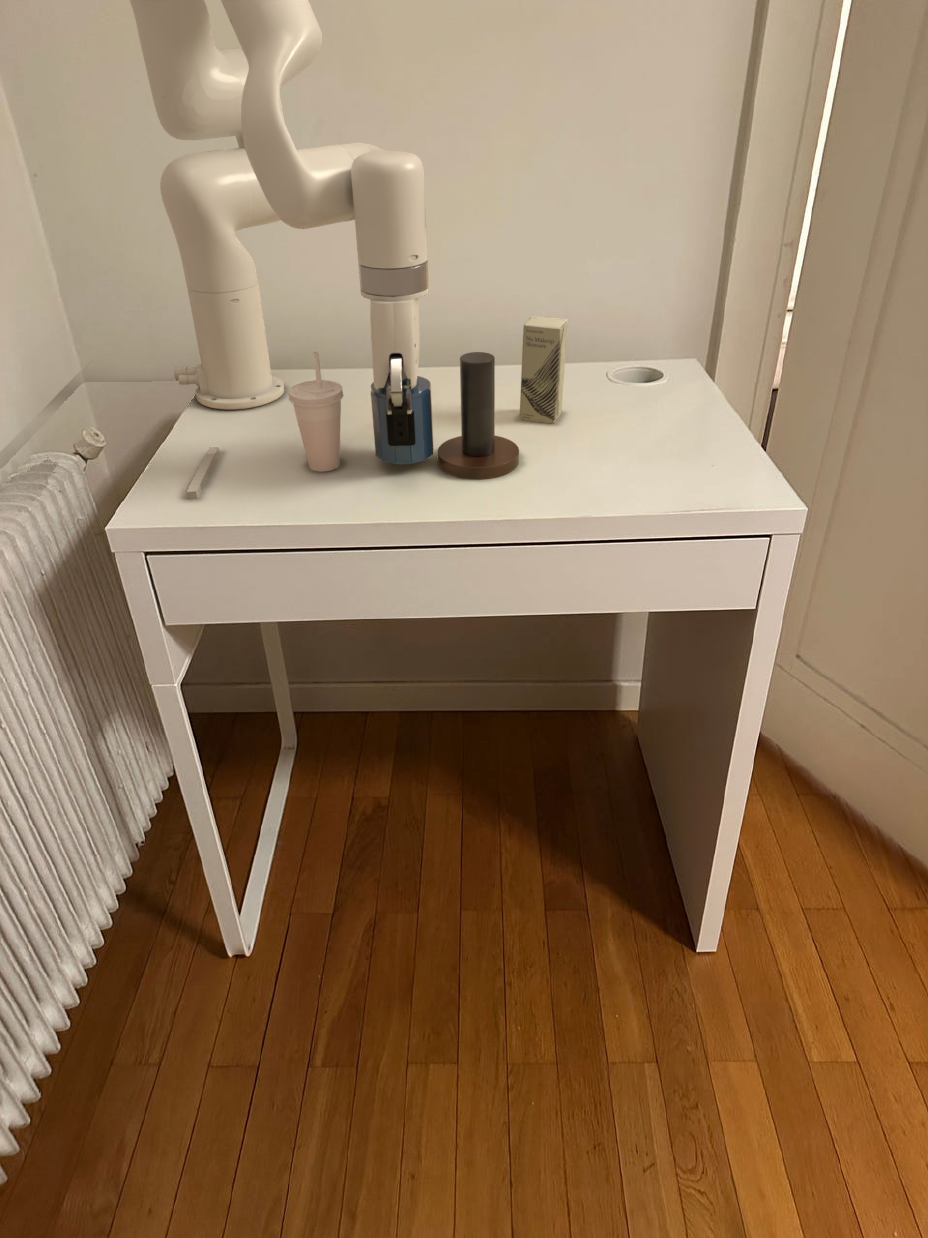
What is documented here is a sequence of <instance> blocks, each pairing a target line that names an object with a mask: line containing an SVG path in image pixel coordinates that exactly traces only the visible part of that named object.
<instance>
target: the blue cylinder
mask: <svg viewBox="0 0 928 1238" xmlns="http://www.w3.org/2000/svg"><path fill="white" fill-rule="evenodd" d="M402 385H407V381H402ZM390 386H391V381H390ZM403 396H405V397H406V392H403ZM370 401H371V412H372V424H373V437H374V451H375V457H376V458H377V459H379V460H380V461H381V462H384V463H388V464H393V465H413V464H416V463H421V462H424V461H426V460H428V459H429V458H430V457H432V456H433V455H434V451H435V450H434V449H435V448H434V424H433V403H432V384H431V382H430V380H429V379H428V378H426V377H424V376H420V375H417V384H416V386H415V387H414V388H413V389H411V405H412V411H414V419H415V438H416V443H415V445H413V446H390V445H389V444H388V435H387V421H386V412H387V390H386V383H385V386H384V388H380V390H377V389H376V388H375V387H374V381H373V382H372V383H371V384H370ZM406 405H407V404H406Z"/></svg>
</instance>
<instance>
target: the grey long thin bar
mask: <svg viewBox="0 0 928 1238" xmlns="http://www.w3.org/2000/svg"><path fill="white" fill-rule="evenodd" d="M219 457H220V449H219V446H209V447H208V449H207V451H206V453H205V455H204V457H203V459H202V461H201V462H200V464H199V466H198V468H197V471H196V472H195V474H194V476H193V478H192V480H191V482H190V483H189V486H188V487H187V489H186V497H187V500H197V499H199V497H200V496H201V494H202V491H203V489H204V487H205V486H206V483H207V481H208V479H209V477H210V475H211V473H212V470H213V469H214V467H215V465H216V462H217V460H218V458H219Z"/></svg>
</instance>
